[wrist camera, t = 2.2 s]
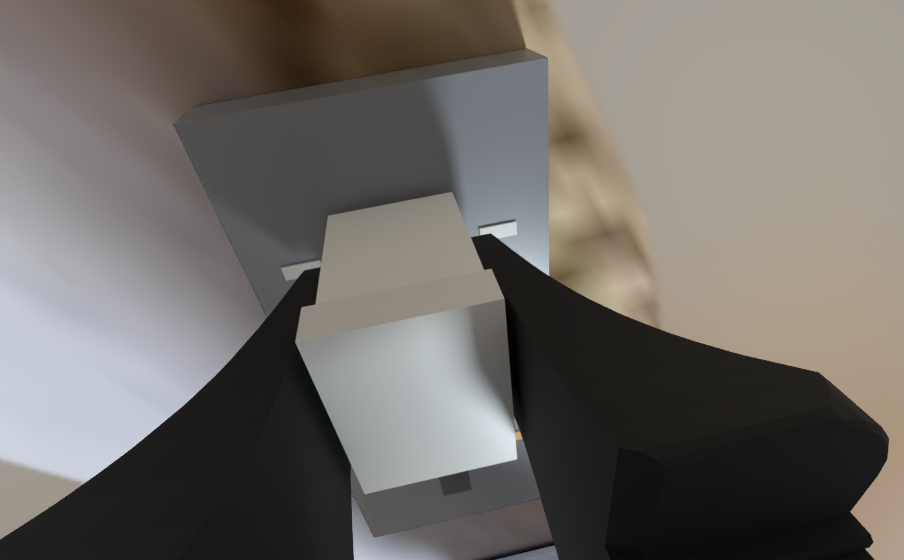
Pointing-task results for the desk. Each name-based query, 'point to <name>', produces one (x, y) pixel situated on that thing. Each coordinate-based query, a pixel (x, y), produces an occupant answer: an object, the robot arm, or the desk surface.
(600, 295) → the desk surface
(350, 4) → the desk surface
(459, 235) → the fader tab
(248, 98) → the console
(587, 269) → the desk surface
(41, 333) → the desk surface
